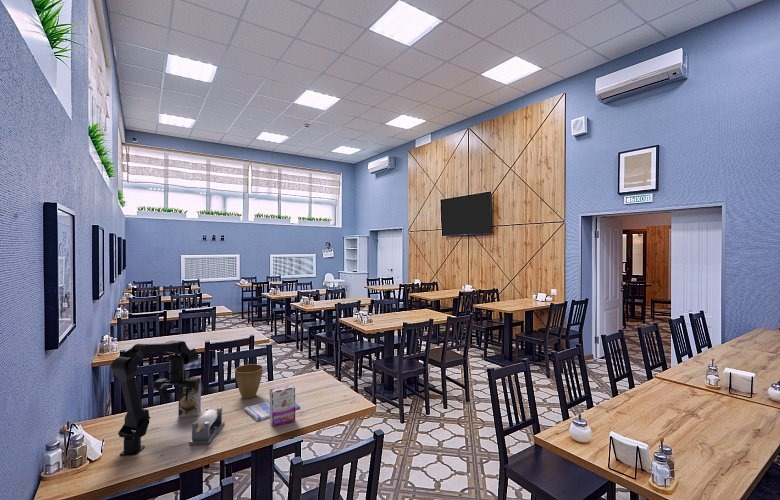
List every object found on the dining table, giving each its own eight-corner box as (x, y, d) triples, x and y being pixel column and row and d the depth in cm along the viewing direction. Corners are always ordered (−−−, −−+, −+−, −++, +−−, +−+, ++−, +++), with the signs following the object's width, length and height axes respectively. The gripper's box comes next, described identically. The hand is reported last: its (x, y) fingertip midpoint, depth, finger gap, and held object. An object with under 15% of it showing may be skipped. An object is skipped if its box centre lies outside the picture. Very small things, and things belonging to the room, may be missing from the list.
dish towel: (243, 411, 191) (243, 405, 191) (286, 399, 206) (286, 394, 206) (255, 423, 178) (255, 417, 178) (300, 409, 193) (300, 404, 193)
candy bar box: (292, 417, 183) (292, 384, 183) (295, 421, 179) (295, 387, 179) (269, 423, 177) (269, 388, 177) (272, 427, 172) (272, 391, 173)
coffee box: (177, 418, 182) (178, 385, 182) (181, 412, 188) (181, 380, 188) (198, 415, 184) (198, 383, 184) (201, 410, 190) (201, 379, 190)
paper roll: (208, 429, 157) (197, 420, 157) (198, 440, 157) (187, 431, 156) (223, 411, 175) (213, 403, 175) (214, 421, 175) (204, 412, 174)
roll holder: (208, 444, 157) (208, 424, 157) (188, 445, 156) (189, 425, 156) (224, 423, 176) (224, 405, 176) (206, 424, 175) (206, 406, 175)
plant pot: (228, 399, 205) (228, 370, 205) (248, 389, 219) (248, 362, 219) (249, 403, 199) (249, 373, 199) (268, 393, 213) (268, 365, 213)
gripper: (204, 362, 181) (204, 394, 181) (164, 363, 179) (164, 395, 179) (194, 369, 170) (194, 403, 170) (152, 370, 168) (151, 404, 168)
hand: (176, 401), depth 172 cm, fingers open, 9 cm apart
